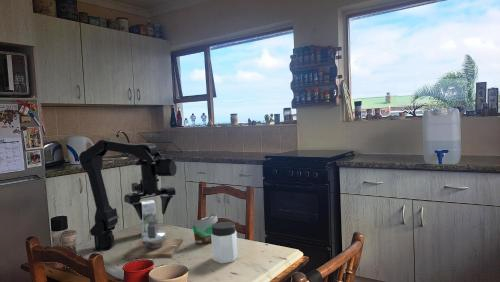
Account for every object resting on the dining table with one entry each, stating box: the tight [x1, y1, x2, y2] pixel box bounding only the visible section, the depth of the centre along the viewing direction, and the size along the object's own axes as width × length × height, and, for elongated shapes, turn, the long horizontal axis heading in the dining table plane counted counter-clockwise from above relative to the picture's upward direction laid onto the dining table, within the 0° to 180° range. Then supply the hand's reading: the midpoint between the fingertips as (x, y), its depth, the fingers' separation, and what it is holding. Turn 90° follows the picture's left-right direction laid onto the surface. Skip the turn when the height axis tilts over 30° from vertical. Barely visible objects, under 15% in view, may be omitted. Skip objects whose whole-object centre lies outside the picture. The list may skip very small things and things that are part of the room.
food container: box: [191, 212, 219, 246], centre depth 146 cm, size 12×6×10 cm, turn 143°
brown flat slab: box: [122, 238, 184, 259], centre depth 141 cm, size 18×16×3 cm
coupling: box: [141, 218, 167, 245], centre depth 141 cm, size 11×9×7 cm
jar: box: [211, 221, 239, 264], centre depth 127 cm, size 9×8×12 cm
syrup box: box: [140, 199, 157, 234], centre depth 161 cm, size 6×6×14 cm
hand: (152, 216), depth 140 cm, fingers open, 9 cm apart
